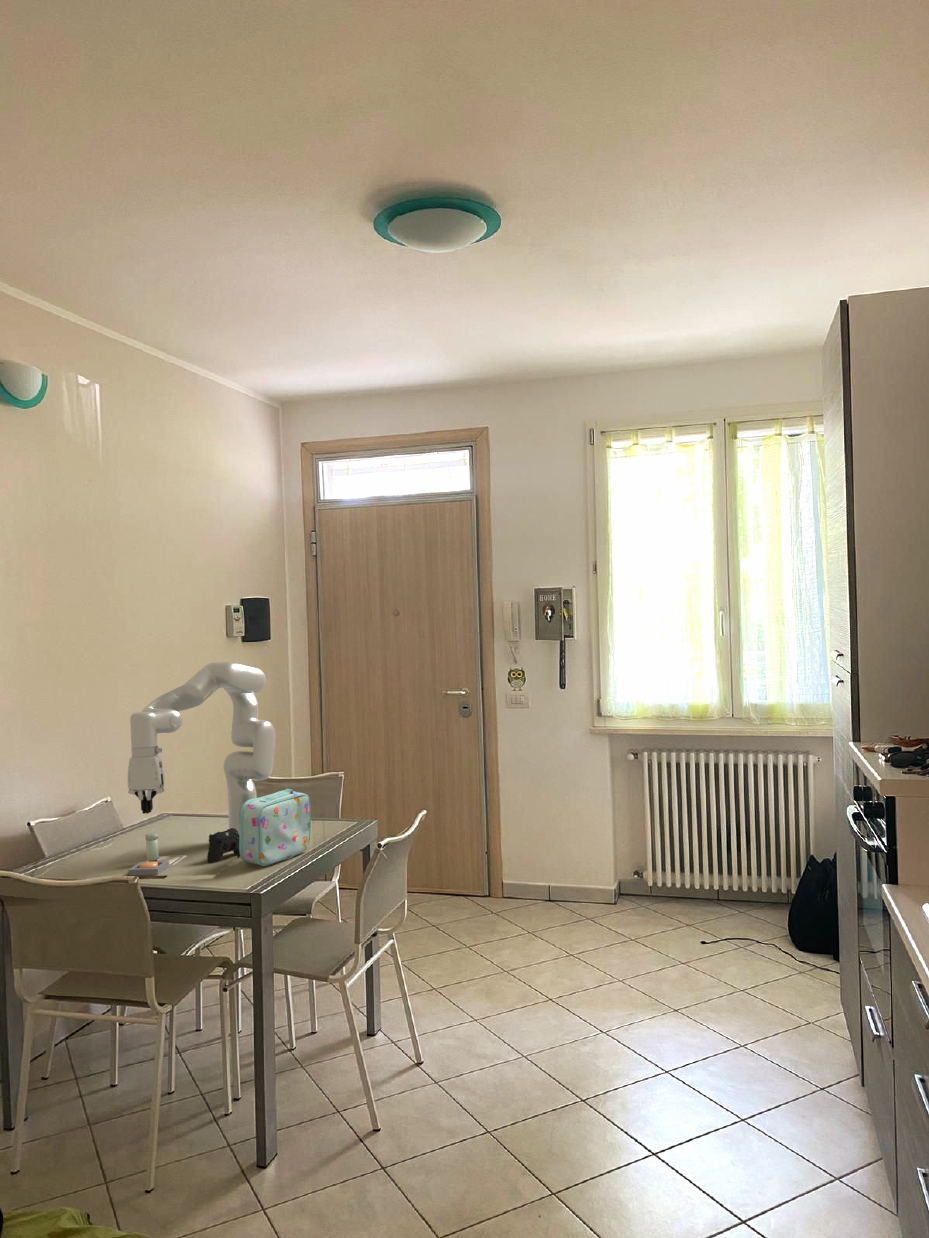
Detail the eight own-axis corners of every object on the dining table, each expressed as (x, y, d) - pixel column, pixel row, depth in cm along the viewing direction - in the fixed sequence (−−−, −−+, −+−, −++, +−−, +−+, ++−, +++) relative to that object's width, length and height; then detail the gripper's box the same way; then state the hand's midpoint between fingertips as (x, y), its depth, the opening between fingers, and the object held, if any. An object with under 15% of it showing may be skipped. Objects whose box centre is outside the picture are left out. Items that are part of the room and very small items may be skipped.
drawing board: (191, 857, 304) (191, 854, 304) (164, 878, 280) (163, 874, 280) (152, 858, 304) (152, 855, 304) (121, 879, 280) (121, 875, 280)
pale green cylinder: (160, 860, 297) (159, 832, 297) (158, 863, 293) (156, 834, 293) (148, 861, 296) (146, 833, 296) (145, 864, 293) (144, 835, 293)
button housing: (169, 866, 289) (168, 861, 289) (158, 874, 280) (157, 868, 280) (140, 867, 290) (140, 861, 290) (128, 875, 281) (128, 869, 281)
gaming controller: (216, 867, 290) (215, 835, 290) (202, 865, 294) (201, 833, 294) (249, 857, 302) (248, 826, 302) (235, 855, 306) (234, 824, 306)
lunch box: (290, 847, 313) (288, 783, 313) (315, 850, 308) (313, 785, 308) (236, 867, 289) (233, 798, 289) (262, 870, 285) (259, 800, 285)
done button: (160, 867, 288) (160, 861, 288) (154, 871, 282) (153, 865, 282) (144, 867, 288) (143, 861, 288) (137, 871, 283) (137, 866, 283)
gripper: (173, 749, 288) (175, 809, 289) (125, 751, 289) (128, 810, 289) (164, 753, 281) (166, 814, 281) (115, 755, 282) (117, 816, 282)
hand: (147, 812), depth 285 cm, fingers closed
